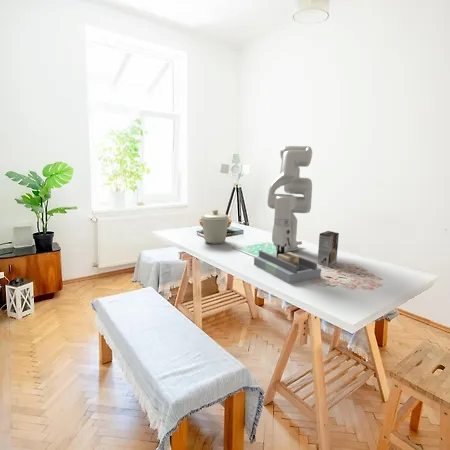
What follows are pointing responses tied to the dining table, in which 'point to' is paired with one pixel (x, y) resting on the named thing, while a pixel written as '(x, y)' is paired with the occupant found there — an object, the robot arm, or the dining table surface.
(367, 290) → the dining table surface
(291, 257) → the maple block
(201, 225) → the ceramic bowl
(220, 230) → the canister
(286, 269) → the lane deck
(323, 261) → the coffee box
